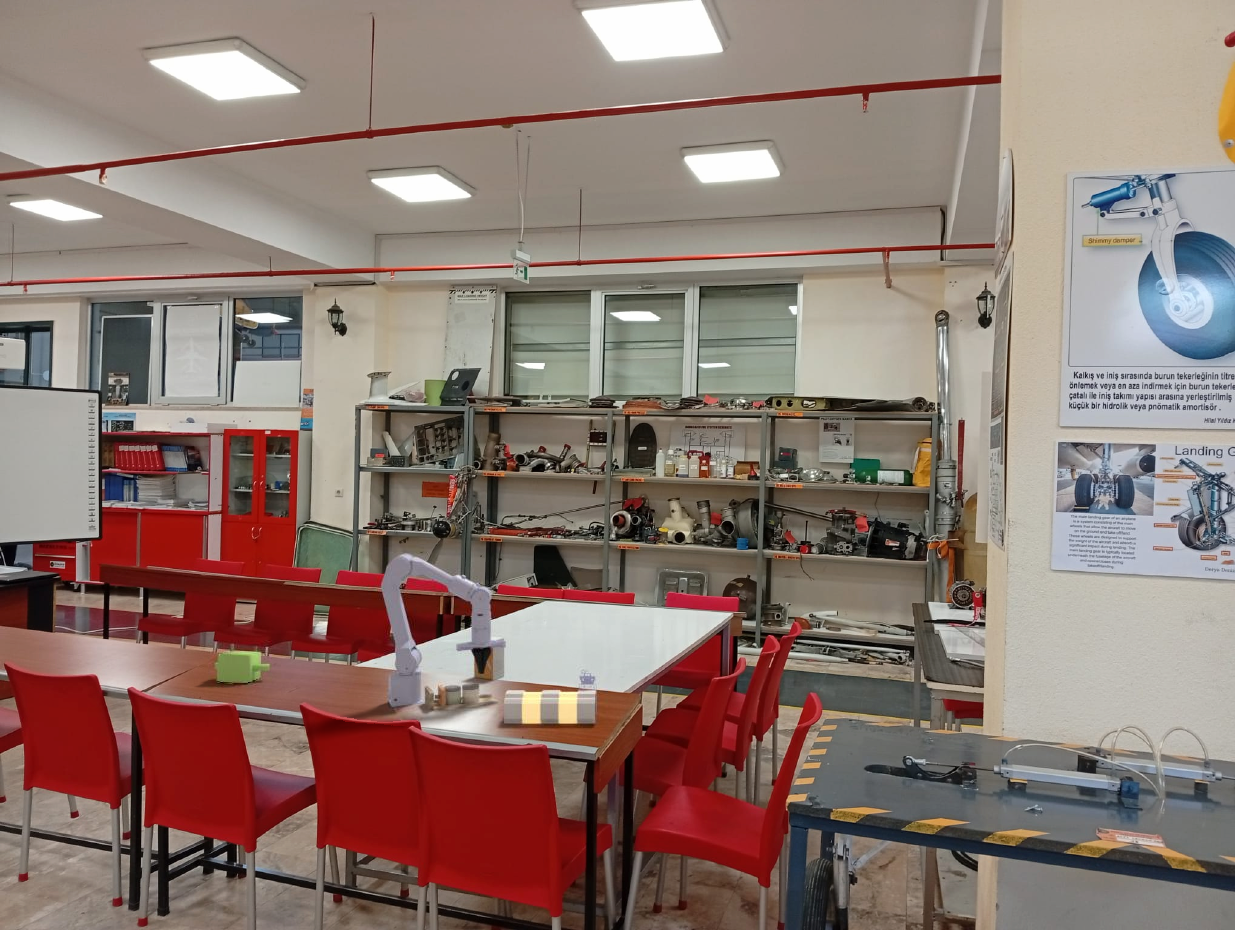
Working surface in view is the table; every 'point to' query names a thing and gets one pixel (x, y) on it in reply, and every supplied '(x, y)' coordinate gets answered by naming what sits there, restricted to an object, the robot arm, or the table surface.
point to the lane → (435, 706)
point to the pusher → (441, 695)
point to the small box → (492, 664)
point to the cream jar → (470, 693)
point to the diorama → (552, 705)
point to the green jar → (453, 695)
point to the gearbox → (239, 666)
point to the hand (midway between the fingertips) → (481, 673)
